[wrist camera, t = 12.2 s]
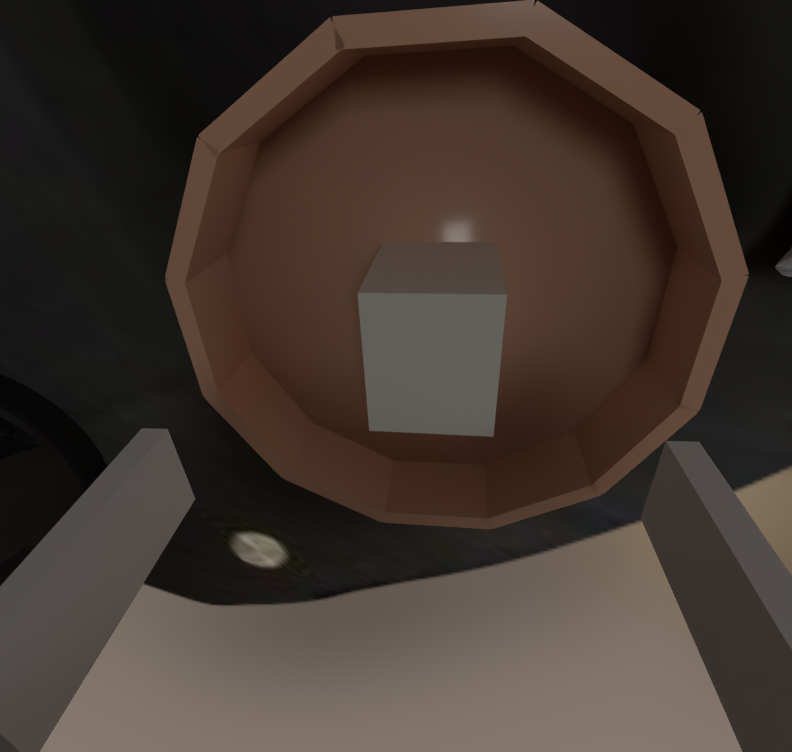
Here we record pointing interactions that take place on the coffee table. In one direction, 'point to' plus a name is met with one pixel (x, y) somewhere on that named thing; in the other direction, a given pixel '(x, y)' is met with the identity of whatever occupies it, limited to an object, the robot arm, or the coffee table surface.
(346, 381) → the bowl
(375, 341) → the grey cube
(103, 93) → the coffee table surface
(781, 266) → the packaged food
